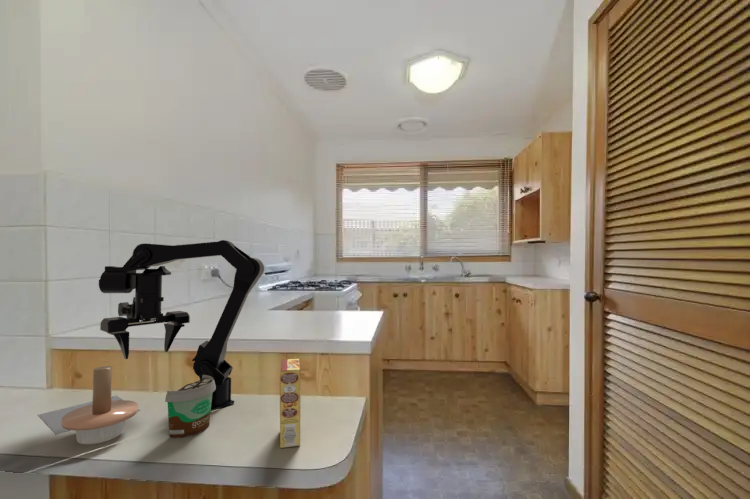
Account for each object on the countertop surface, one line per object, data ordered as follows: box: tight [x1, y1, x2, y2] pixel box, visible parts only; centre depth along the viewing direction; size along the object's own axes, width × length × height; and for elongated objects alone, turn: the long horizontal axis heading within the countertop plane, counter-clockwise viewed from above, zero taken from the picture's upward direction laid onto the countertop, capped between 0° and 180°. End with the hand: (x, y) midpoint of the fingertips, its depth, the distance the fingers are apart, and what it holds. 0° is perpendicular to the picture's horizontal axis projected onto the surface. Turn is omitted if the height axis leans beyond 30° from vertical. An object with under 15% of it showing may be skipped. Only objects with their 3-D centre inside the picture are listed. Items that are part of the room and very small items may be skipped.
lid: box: [61, 365, 139, 431], centre depth 78 cm, size 13×13×10 cm
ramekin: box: [75, 420, 126, 445], centre depth 78 cm, size 9×9×4 cm
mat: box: [37, 395, 141, 435], centre depth 89 cm, size 16×16×1 cm
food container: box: [164, 375, 216, 439], centre depth 82 cm, size 12×6×10 cm, turn 168°
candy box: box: [279, 358, 302, 449], centre depth 78 cm, size 9×4×15 cm, turn 13°
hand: (147, 355), depth 94 cm, fingers open, 9 cm apart
